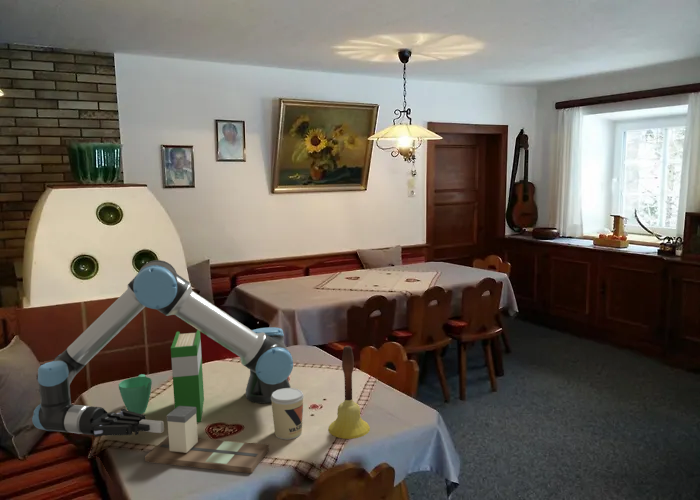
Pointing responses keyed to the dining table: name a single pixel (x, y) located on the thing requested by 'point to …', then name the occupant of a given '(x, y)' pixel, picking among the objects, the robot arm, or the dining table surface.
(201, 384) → the hardback book
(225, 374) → the dining table surface
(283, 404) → the coffee cup
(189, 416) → the fader knob
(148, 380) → the mug
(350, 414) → the handbell
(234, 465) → the fader track
